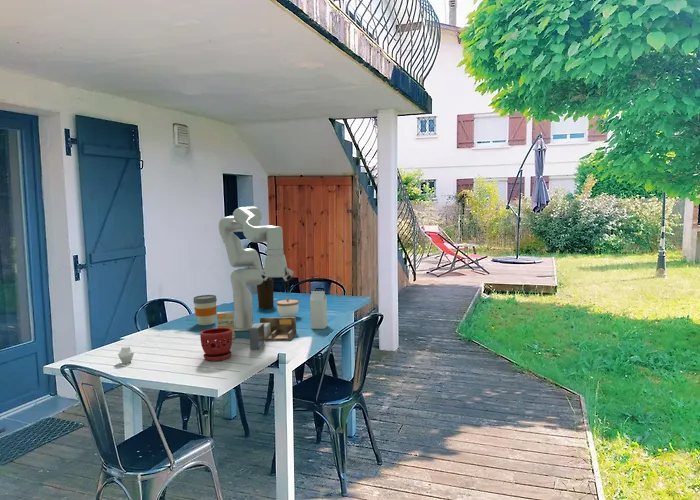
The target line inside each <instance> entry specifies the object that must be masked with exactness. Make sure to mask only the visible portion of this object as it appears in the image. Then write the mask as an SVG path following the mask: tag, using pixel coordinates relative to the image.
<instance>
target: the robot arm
mask: <svg viewBox="0 0 700 500" xmlns="http://www.w3.org/2000/svg"><path fill="white" fill-rule="evenodd" d="M262 217H263V214H262V211H261V209H260V208H258V207H257V206H241V207H240V206H239V207H238V208H236V209H234V211H233V212H232V215H229V216H224V217H222V218H220V220H219V222H218V231H219V235H220V237H221V239H222V241H223V243H224V247H225V250H226V254H227V259H228V262H229V265H230V266H231V267H232V268H237V269H234V270H233V271H232V272H231V273H230V277H229V279H230V283H231V288H232V296H233V297H232V298H233V310H234V311H233V312H234V329H235V331H236V332H246V331H249V328H250V327H251V326H252V325H254V324H255V323H254V313H253V312H254V309H253V308H254V307H253V294H252V292H251V291H250V290H249V288H248V287H253V286H254V287H255V286H257V285H260V284H262V282H263V280H264V281H265V287H266V289H270V288H271V287H270V280H269V279H270V277H271V278H282V279H283V280H284V281H283V290H285V291H287V290H289V289H290V280H291V279H292V278H293V275H294V271H293V270H291V269H290V268H288V264H287V258H286V256H285V254H284V239H283V237H284V236H283V228H282V226H279V225H277V226H276V225H260V224H261V221H262ZM238 232H242V233H243V236H244V237H245V238H246V239H247V240H248V241H250V242H252V243H264V242H265V243H266V250H264V254H266V255H265V259H264V268H265V269H263V270H262V263H261V259H260V255H259V253H258V251H257V250H256V249H254V248H244V247H243V244H242V241H241V239H240V238H239V237H238V235H236V234H235V233H238ZM245 267H246V268H245ZM247 267H248V268H247ZM264 272H265V275H264ZM288 273H289V274H288Z"/></svg>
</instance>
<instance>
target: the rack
mask: <svg viewBox="0 0 700 500" xmlns="http://www.w3.org/2000/svg"><path fill="white" fill-rule="evenodd" d="M259 323H264V339H265V342H266V341H270V342H271V341H272V342H273V341H276V342H277V341H292V339H293V338H294V337H295V335H296V334H297V317H296V316H295V317H283V318H282V317H260V318H259Z"/></svg>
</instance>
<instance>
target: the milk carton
mask: <svg viewBox="0 0 700 500" xmlns="http://www.w3.org/2000/svg"><path fill="white" fill-rule="evenodd" d="M310 293H311V294H310V299H309V307H310V308H309V309H310V310H309V311H310V328H311V329H313V330H325V329H326V328H327V327H328V326H329V325H328V303H327V302H328V301H327V300H328V299H327V295H326V292H325V290H324V291H323V290H322V291H321V290H320V291H314V290H313V291H312V290H311V291H310Z"/></svg>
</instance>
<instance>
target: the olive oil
mask: <svg viewBox="0 0 700 500" xmlns="http://www.w3.org/2000/svg"><path fill="white" fill-rule="evenodd" d="M263 269H265V267H263V268H262V270H263ZM264 275H265V272H264ZM269 280H270V287H271V288H270V289H266V287H265V281H264V280H263V282H262V284H260V285H256V291H257V304H258V309H271V308H274V305H275V304H274V303H275V301H274V280H273V277H270V279H269Z"/></svg>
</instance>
